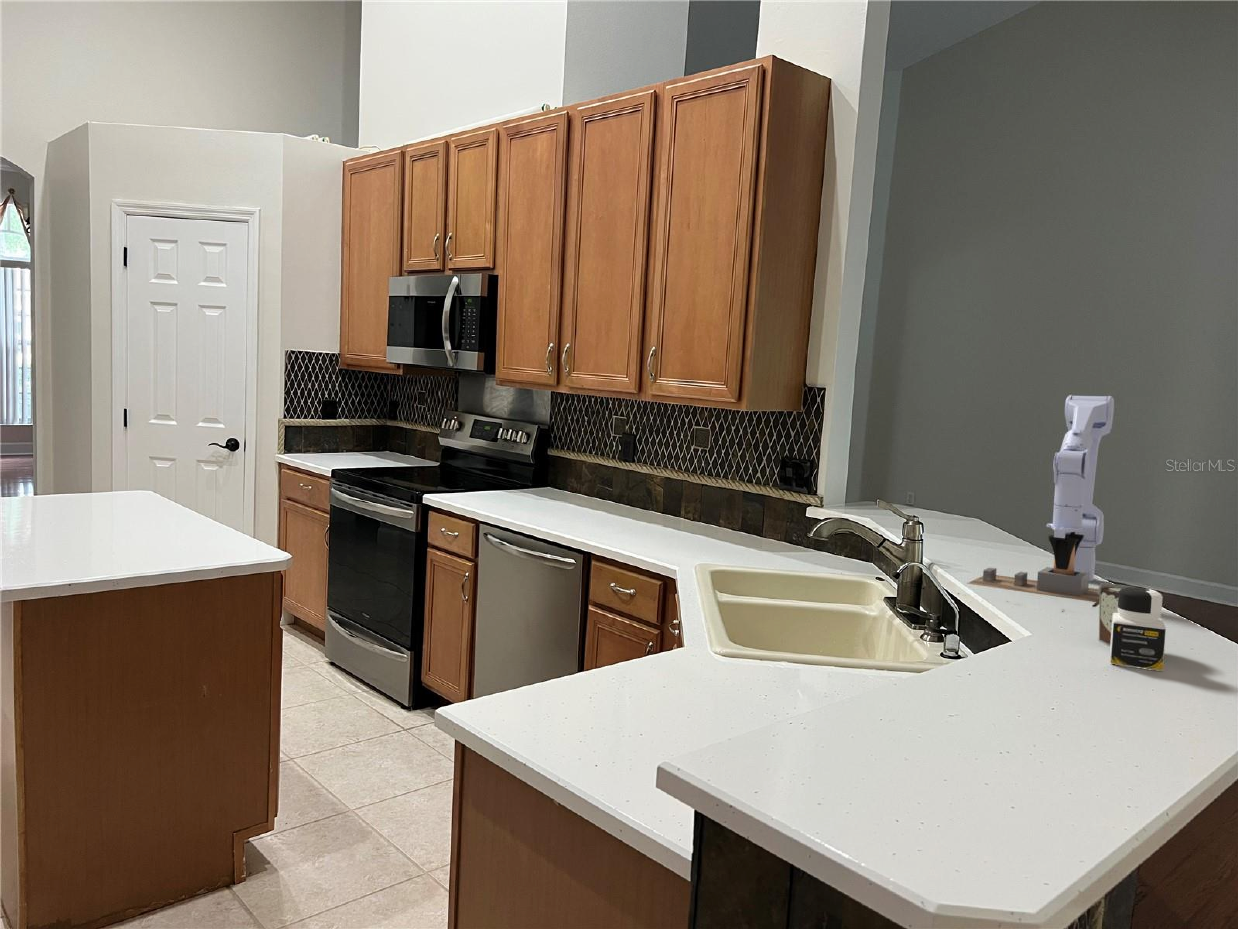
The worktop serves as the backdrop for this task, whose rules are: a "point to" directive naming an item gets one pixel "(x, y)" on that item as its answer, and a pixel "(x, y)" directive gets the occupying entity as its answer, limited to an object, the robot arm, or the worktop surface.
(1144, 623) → the medicine bottle
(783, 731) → the worktop surface
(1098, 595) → the dock board
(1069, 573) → the peg
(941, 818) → the worktop surface
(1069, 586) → the socket
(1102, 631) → the food container
